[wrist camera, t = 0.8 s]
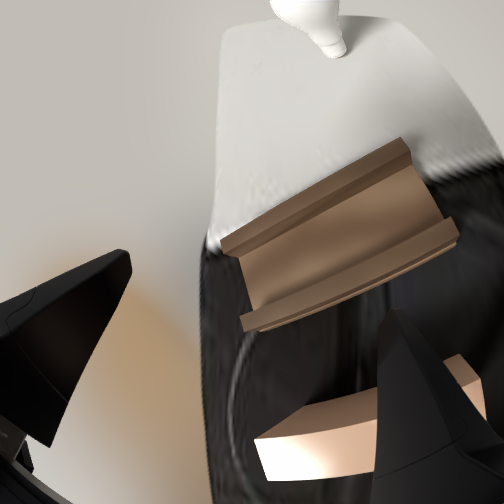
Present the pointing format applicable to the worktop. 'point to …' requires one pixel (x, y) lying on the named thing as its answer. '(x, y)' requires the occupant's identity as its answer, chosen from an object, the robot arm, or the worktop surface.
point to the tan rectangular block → (339, 433)
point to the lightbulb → (314, 22)
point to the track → (339, 238)
